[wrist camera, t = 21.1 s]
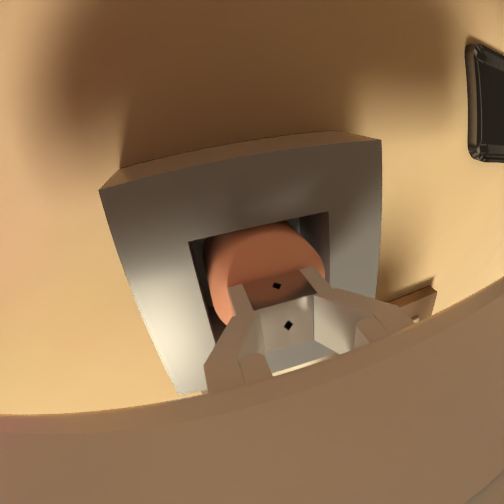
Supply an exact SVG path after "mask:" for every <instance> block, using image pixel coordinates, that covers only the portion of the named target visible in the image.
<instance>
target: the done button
mask: <svg viewBox="0 0 504 504" xmlns="http://www.w3.org/2000/svg"><path fill="white" fill-rule="evenodd" d="M203 262H204V267H205V271H206V276H207V280H208V285H209V289H210V293H211V297H212V302H213V306H214V308H215V311H216V313H217V315H218V317H219V318H220V319H221V320H222V322H223V323H225V324H226V325H227V324H228V323H229V321H230V319H231V317H233V315H232V310H231V306H230V301H229V297H228V292H227V287H230V286H234V285H238V284H243V283H247V282H252V281H256V280H261V279H265V278H269V277H275V276H278V275H282V274H285V273H289V272H292V271H296V270H299V269H302V268H305V267H309V266H313V267H314V268H315V269H316V270H317V271H318V272H319V274H320V275H321V276H322V277H323V278H324V279H325V270H324V266H323V262H322V260H321V258H320V256H319V254H318V253H317V252H316V250H315V249H314V248H313V247H312V246H311V245H310V244H309V243H308V242H307V241H306V240H305V239H304V238H303V237H302V236H301V235H300V234H299V233H298V232H297V231H296V230H295V229H294V228H293V227H292V226H291V225H290V224H289V223H288V222H287V221H286V220H284V221H279V222H275V223H270V224H265V225H261V226H256V227H251V228H247V229H242V230H238V231H233V232H229V233H225V234H220V235H216V236H211V237H207V238H206V240H205V243H204V247H203Z"/></svg>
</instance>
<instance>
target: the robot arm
mask: <svg viewBox="0 0 504 504" xmlns="http://www.w3.org/2000/svg"><path fill="white" fill-rule="evenodd" d="M227 292H228V297H229V301H230V306H231V310H232V315H233V317H231V319H230V321H229V323H228V324H227V326H226V328H225V329H224V331H223V333H222V335H221V336H220V338H219V340H218V341H217V343H216V345H215V347H214V348H213V350H212V352H211V353H210V355H209V357H208V358H207V360H206V362H205V363H204V365H203V366H204V372H205V378H206V384H207V389H208V393H207V394H202V395H197V396H193V397H188V398H182V399H177V400H172V401H166V402H160V403H154V404H148V405H142V406H135V407H127V408H119V409H111V410H102V411H91V412H79V413H64V414H36V415H11V414H0V504H504V276H503V277H502V278H500V279H498V280H497V281H495V282H493V283H492V284H490V285H488V286H486V287H485V288H483V289H481V290H479V291H478V292H476V293H474V294H472V295H470V296H469V297H467V298H465V299H463V300H461V301H459V302H457V303H456V304H454V305H452V306H450V307H448V308H446V309H444V310H442V311H440V312H438V313H436V314H434V315H432V316H430V317H428V318H426V319H424V320H422V321H419V322H417V323H415V322H414V321H413V320H412V319H411V318H410V317H409V316H408V315H407V314H406V313H405V312H404V311H403V310H402V309H400V308H399V307H398V306H397V305H394V304H390V303H387V302H384V301H380V300H377V299H373V298H370V297H367V296H363V295H360V294H356V293H353V292H350V291H346V290H343V289H340V288H334V289H333V288H332V287H331V286H330V285H329V284H328V283H327V281H326V280H325V279H324V278H323V277H322V276H321V275H320V274H319V272H318V271H317V270H316V269H315V268H314V267H313V266H309V267H305V268H302V269H299V270H296V271H292V272H289V273H285V274H282V275H278V276H275V277H269V278H265V279H261V280H256V281H252V282H247V283H243V284H238V285H234V286H230V287H227ZM313 339H314V340H315V341H317V342H319V343H320V344H322V345H324V346H326V347H328V348H330V349H331V350H333V351H335V352H337V353H339V354H340V355H337V356H335V357H332V358H329V359H326V360H323V361H321V362H318V363H315V364H312V365H309V366H306V367H303V368H299V369H296V370H293V371H290V372H287V373H283V374H280V375H277V376H273V375H272V373H271V370H270V368H269V366H268V363H267V361H266V359H265V357H266V353H269V352H273V351H276V350H279V349H282V348H285V347H288V346H291V345H295V344H299V343H302V342H306V341H309V340H313Z"/></svg>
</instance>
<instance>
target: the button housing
mask: <svg viewBox="0 0 504 504" xmlns="http://www.w3.org/2000/svg"><path fill="white" fill-rule="evenodd" d="M99 194H100V198H101V201H102V205H103V208H104V211H105V215H106V218H107V221H108V225H109V228H110V231H111V234H112V237H113V240H114V243H115V246H116V249H117V252H118V255H119V258H120V261H121V264H122V267H123V269H124V272H125V275H126V278H127V280H128V283H129V286H130V288H131V291H132V293H133V296H134V298H135V301H136V303H137V306H138V308H139V311H140V313H141V316H142V318H143V320H144V323H145V325H146V327H147V330H148V332H149V334H150V337H151V339H152V341H153V343H154V345H155V348H156V350H157V352H158V354H159V356H160V358H161V361H162V363H163V365H164V367H165V369H166V371H167V373H168V375H169V377H170V379H171V381H172V383H173V385H174V387H175V389H176V391H177V393H178V395H184V394H189V393H194V392H198V391H203V390H208V389H207V384H206V378H205V372H204V366H203V365H204V363H205V362H206V360H207V358H208V357H209V355H210V353H211V352H212V350H213V348H214V347H215V345H216V343H217V341H218V340H219V338H220V336H221V335H222V333H223V331H224V329H225V328H226V326H227V325H226V324H225V323H223V322H222V320H221V319H220V318H219V317H218V315H217V313H216V311H215V308H214V306H213V302H212V297H211V293H210V289H209V285H208V280H207V276H206V271H205V267H204V262H203V247H204V243H205V240H206V238H207V237H211V236H216V235H220V234H225V233H229V232H233V231H238V230H242V229H247V228H251V227H256V226H261V225H265V224H270V223H275V222H279V221H284V220H286V221H287V222H288V223H289V224H290V225H291V226H292V227H293V228H294V229H295V230H296V231H297V232H298V233H299V234H300V235H301V236H302V237H303V238H304V239H305V240H306V241H307V242H308V243H309V244H310V245H311V246H312V247H313V248H314V249H315V250H316V252H317V253H318V254H319V256H320V258H321V260H322V262H323V266H324V270H325V280H326V281H327V283H328V284H329V285H330V286H331V287H332V288H333V289H334V288H340V289H343V290H346V291H350V292H353V293H356V294H360V295H363V296H367V297H370V298H373V299H375V295H376V286H377V276H378V265H379V252H380V236H381V214H382V146H381V140H380V139H375V138H370V137H365V136H360V135H355V134H350V133H344V132H338V131H323V132H313V133H304V134H295V135H287V136H279V137H272V138H264V139H258V140H251V141H245V142H239V143H233V144H227V145H222V146H216V147H211V148H206V149H201V150H196V151H191V152H186V153H182V154H177V155H173V156H169V157H164V158H160V159H156V160H152V161H148V162H144V163H140V164H136V165H132V166H129V167H125V168H121V169H119V170H118V171H117V172H116V173H115V174H114V175H113V176H112V177H111V178H110V179H109V180H108V181H107V182H106V183H105V184H104V185H103V186H102V187H101V188H100V189H99ZM334 353H336V352H335V351H333V350H331V349H330V348H328V347H326V346H324V345H322V344H320V343H319V342H317V341H315V340H314V339H313V340H309V341H306V342H302V343H299V344H295V345H291V346H288V347H285V348H282V349H279V350H276V351H273V352H269V353H266V357H265V359H266V361H267V363H268V366H269V368H270V370H271V373H274V372H278V371H281V370H285V369H288V368H291V367H294V366H298V365H301V364H304V363H307V362H310V361H313V360H316V359H319V358H322V357H325V356H328V355H331V354H334Z"/></svg>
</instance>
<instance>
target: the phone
mask: <svg viewBox="0 0 504 504" xmlns="http://www.w3.org/2000/svg"><path fill="white" fill-rule="evenodd" d="M465 64H466V76H467V94H468V150H469V153H470V155H471V157H472V158H473V159H476V160H479V161H482V162H500V163H504V56H502V55H500V54H499V53H497V52H495V51H493V50H491V49H489V48H487V47H485V46H483V45H481V44H469V45H467V47H466V49H465Z"/></svg>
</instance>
